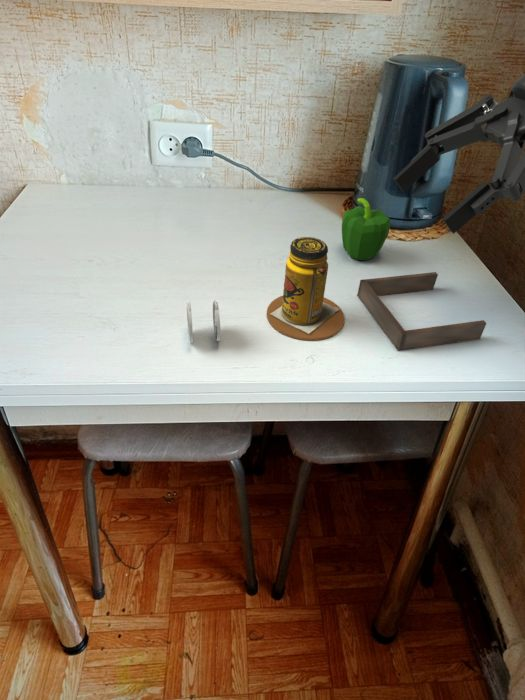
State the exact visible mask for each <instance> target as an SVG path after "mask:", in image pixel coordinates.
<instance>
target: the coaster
mask: <svg viewBox="0 0 525 700" xmlns="http://www.w3.org/2000/svg"><path fill="white" fill-rule="evenodd" d="M282 302H283V295H280V296H278V297H277V298H274V299H273V300H272V301H271V302H270V303H269V305H268V306H267V308H266V319H267V322H268V323H269V325H270V326H271V327H272V328H273V329H274V330H275V331H276V332H278V333H279V334H282V335H283V336H286V337H289V338H291V339H295V340H299V341H311V342H313V341H321V340H326V339H329V338H332V337H334V336H336V335H337V334H338V333H340V331H341V330H342V329H343V328H344V325H345V320H346V319H345V314H344V312H343V310H342V308H341V307H340V306H339V305H338V304H337V303H335V302H334V301H332V300H330V299H329V298H327V297H325V296H324V298H323V302H324V303H326V304H329V305H331V306H333V307H336V308H339V310H338V311H337V312H335V313H334V314H333V315H332V316H331V317H329V318H328V319H327V320H326V321H324V322H323V323H322V324H321V325H320V326H318V327H317V328H316V329H315V330H313V331H312V332H310V333H309V334H308V333H306V332H304V331H302V330H300V329H298V328H295V327H293V326H291V325H290V324H287V323H285V322H284V321H282V320H280V319H278V318H276V317H275V316H273V315H271V314H270V313H272V312H274V311H275V310H277V309H278V308H280V307H281V306H282Z"/></svg>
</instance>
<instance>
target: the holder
mask: <svg viewBox="0 0 525 700" xmlns="http://www.w3.org/2000/svg"><path fill="white" fill-rule="evenodd" d="M438 276H439V274H438V273H437V271H433V272H423V273H413V274H403V275H395V276H394V275H393V276H384V277H373V278H365V279H360V280H359V284H358V289H357V295H356V296H357V297H358V299H359V300H360V301H361V303H362V304H363V305H364V307H365V308H366V309H367V311H368V313H369V314H370V315H371V316H372V317H373V319H374V321H375V322H376V323H377V325H378V326H379V327H380V328H381V330H382V332H383V333H384V334H385V335H386V337H387V338H388V340H389V341H390V342H391V344H392V345H393V347H394V348H395V349H396V350H397V352H399V351H406V350H412V349H420V348H426V347H434V346H441V345H447V344H448V345H449V344H455V343H461V342H468V341H475V340H480V339H481V338H482V336H483V333H484V331H485V328H486V326H487V324H488V323H487V321H485V320H484V319H483V320H482V319H481V320H475V321H468V322H459V323H453V324H445V325H438V326H437V325H436V326H430V327H422V328H414V329H406V330H405V329H404V328H403V326H402V325H401V323H400V322H399V321H398V320H397V318H396V317H395V316H394V315H393V313H392V312H391V311H390V310H389V308H388V307H387V305H385V303H384V302H383V301H382V299H381V298H380V297H379V296H386V295H397V294H404V293H415V292H421V291H422V292H423V291H430V290H431V291H432V290H434V289H435V285H436V282H437V279H438Z"/></svg>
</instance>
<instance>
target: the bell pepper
mask: <svg viewBox="0 0 525 700" xmlns="http://www.w3.org/2000/svg"><path fill="white" fill-rule="evenodd" d="M357 203H358V204H361V205H363V207H362V206H360V205H357V206H355V207H354V208H351V209H346V210H345V212H344V213H343V215H342V220H341V241H342V247H343V249H344V251H345V252H346V253H347V255H348V256H349V257H350V258H351V259H354V260H357V261H358V260H359V261H367V260H371V258H373V257H375V256H376V255H378V254H379V252H381V249H382V248H383V246H384V244H385V242H386V240H387V238H388V236H389V233H390V229H391V225H392V224H391V218H390V217H388V216H387V215H386V214H385V213H384V212H383V210H382V209H371V205H370V203H369V201H367V200H366V198H363V197H359V198H357Z"/></svg>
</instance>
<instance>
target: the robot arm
mask: <svg viewBox="0 0 525 700" xmlns="http://www.w3.org/2000/svg"><path fill="white" fill-rule="evenodd" d="M510 89H511V90H510V93H509V95H508V97H507V98H505V99H504V100H502V101H501V102H497V101H496V100H495V98H494V95H493V94H492V93H488V94H487V95H484V97H482V98H481V99H479V101H477V102H476V104H474V105H472V106H470V107H469V108H467V109H465V110H463V111H461V112H459V113H458V114H456V115H454V116H453V117H451V118H449V119H447V120H446V121H444V122H443V123H440V124H438V125H437V126H435V127H433V128H432V129H430V130H428V131H427V132H425V133H424V139H426V146H424V148H422V149H421V151H419V152H418V153H417V154H416V155H415V156H414V157H413V158H412V159H410V162H409V163H408V164H407V165H406V166H405V167H404V168H403V169H402V170H400V171H399V172H398V173H397V174H396V175H395V176H394V177H393V178H392V179H393V180H394V181H395V183H396V184H397V186H398V187H399V188H400V190H401V191H402V192H403V193H405V192H406V191H407V190H408V189H409V188H410V187H412V186H413V185H414V184H415V183H416V182H417V181H418V180H419V179H421V177H423V176H424V175H425V174H426V173H427V172H428V171H429V170H430V169H431V168H433V167H434V166H435V165H436V164H437V163H438V162H440V160H441V156H442V155H444V154H448V153H449V152H452V151H455V150H459V149H460V148H463V147H466V146H470V145H473V144H475V143H477V142H483V143H485V142H491V143H492V144H497V145H499V146H500V148H502V149H501V150H500V151H501V152H500V154H499V157H498V160H497V163H496V166H495V170H494V174H493V176H492V178H491V179H488V182H489V183H488V182H486V181H484V182H482V183H481V184H480V185H479V186H478V187H476V188H475V189H473V191H471V193H469V194H468V195H467V196H466V197H465V198H464V199H462V201H460V202H459V203H458V204H457V205H456V206H454V207H453V208H452V209H451V210H450V211H449V212H448V213H446V214H445V215H444V216H443V217H442V218H441V220H442V221H443V223H444V224H445V226H446V227H447V229H448V231H450V233H452V234H453V235H454V234H455V233H457V232H458V231H459V230H460V229H461V228H463V226H465V225H466V224H467V223H468V222H470V221H471V220H472V219H473V218H474V217H475V216H480V215H482V214H483V213H484V212H486V211H487V210H488V209H489V208H491V207H492V206H493V205H494V204H495V203H496V202H497V201H498V200H503V199H505V198H506V199H510V200H511V201H512V202H517V201H519V200H520V199H521V198H522V197H523V195H524V193H525V73H523V74H522V75H521V76H520V77H519V78H518V79H517V80H516V81H515V82H514V83H513V84H512V86H511V88H510ZM485 124H486V125H485Z"/></svg>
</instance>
